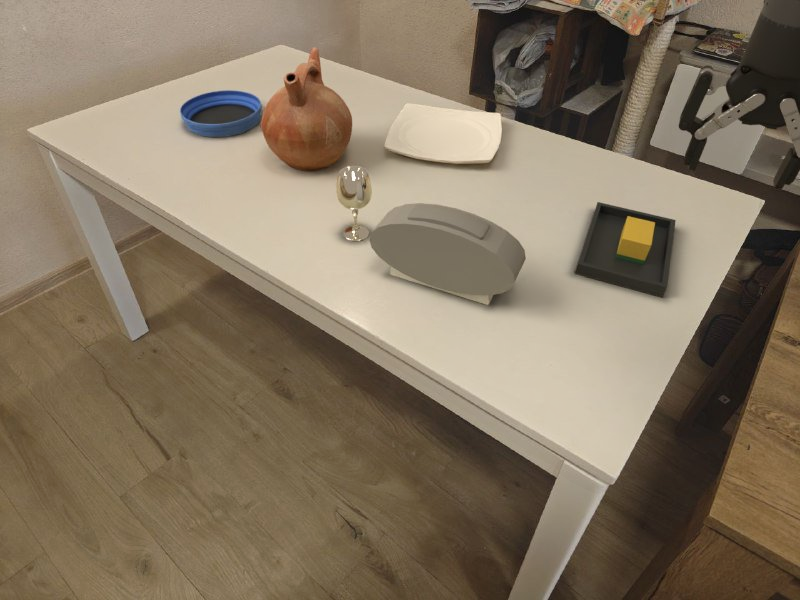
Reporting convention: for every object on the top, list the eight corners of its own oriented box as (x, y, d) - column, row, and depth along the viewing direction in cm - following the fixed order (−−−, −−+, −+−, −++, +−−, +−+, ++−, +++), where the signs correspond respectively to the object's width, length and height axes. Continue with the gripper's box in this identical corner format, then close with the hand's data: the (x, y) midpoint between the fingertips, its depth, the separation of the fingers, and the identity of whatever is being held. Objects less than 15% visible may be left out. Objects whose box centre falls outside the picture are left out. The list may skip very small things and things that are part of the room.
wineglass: (354, 220, 99) (350, 160, 91) (379, 231, 96) (378, 171, 88) (333, 235, 95) (327, 174, 87) (358, 247, 93) (355, 186, 85)
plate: (494, 175, 111) (496, 163, 109) (377, 160, 114) (377, 148, 113) (504, 122, 128) (506, 111, 126) (402, 111, 132) (403, 100, 130)
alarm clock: (519, 289, 86) (534, 222, 77) (508, 314, 82) (522, 246, 73) (386, 250, 93) (386, 184, 84) (370, 271, 89) (367, 204, 80)
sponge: (620, 234, 96) (627, 215, 93) (647, 241, 94) (655, 222, 92) (615, 257, 91) (622, 238, 88) (643, 264, 90) (651, 245, 87)
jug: (289, 131, 123) (277, 38, 110) (365, 143, 120) (362, 48, 106) (252, 172, 110) (232, 72, 97) (336, 186, 107) (328, 84, 93)
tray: (594, 211, 102) (597, 201, 100) (671, 229, 98) (675, 219, 96) (574, 273, 89) (577, 263, 87) (662, 297, 85) (667, 287, 83)
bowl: (205, 101, 135) (202, 86, 132) (274, 108, 132) (272, 93, 130) (168, 134, 122) (164, 119, 119) (244, 143, 119) (241, 127, 117)
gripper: (720, 14, 48) (660, 178, 59) (915, 37, 43) (811, 209, 54) (722, -6, 53) (667, 148, 64) (897, 12, 48) (805, 174, 59)
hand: (733, 176), depth 59 cm, fingers open, 8 cm apart
